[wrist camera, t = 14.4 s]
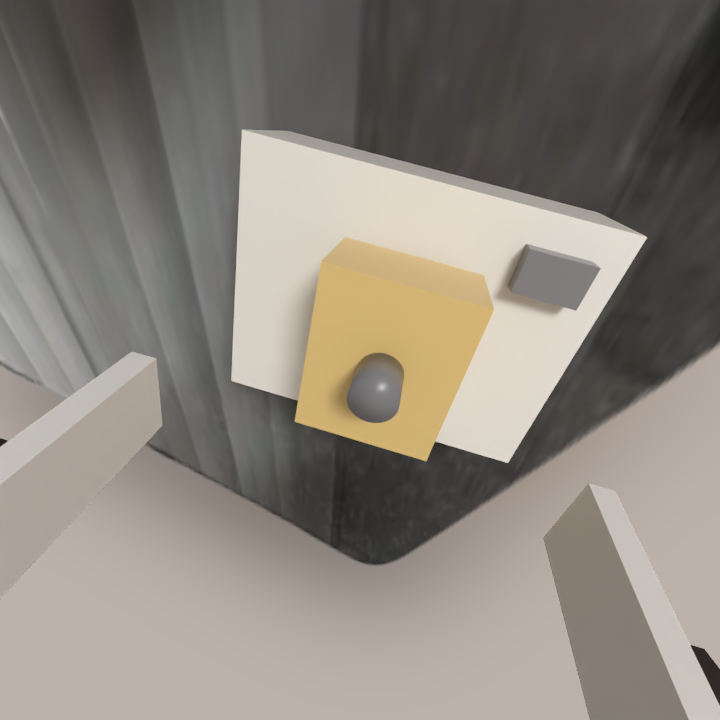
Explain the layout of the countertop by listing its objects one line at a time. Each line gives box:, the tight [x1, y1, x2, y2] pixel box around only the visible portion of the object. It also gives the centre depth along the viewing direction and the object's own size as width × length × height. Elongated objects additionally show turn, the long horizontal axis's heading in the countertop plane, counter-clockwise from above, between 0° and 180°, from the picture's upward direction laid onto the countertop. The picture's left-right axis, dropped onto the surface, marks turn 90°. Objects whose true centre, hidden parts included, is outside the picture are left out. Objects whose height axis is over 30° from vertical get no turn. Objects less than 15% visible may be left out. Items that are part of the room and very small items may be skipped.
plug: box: [295, 237, 494, 461], centre depth 20 cm, size 6×8×13 cm
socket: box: [231, 130, 647, 463], centre depth 22 cm, size 18×14×7 cm
